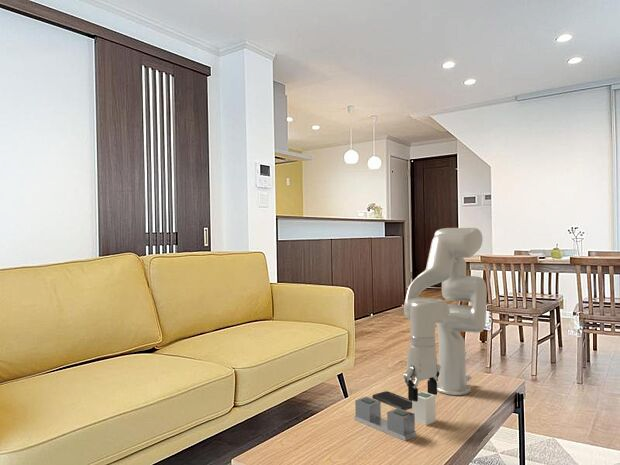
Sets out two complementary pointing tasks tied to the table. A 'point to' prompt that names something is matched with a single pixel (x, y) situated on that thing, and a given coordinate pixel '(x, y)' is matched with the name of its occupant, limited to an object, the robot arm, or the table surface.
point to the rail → (395, 425)
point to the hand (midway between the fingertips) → (422, 397)
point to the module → (424, 408)
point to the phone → (393, 400)
